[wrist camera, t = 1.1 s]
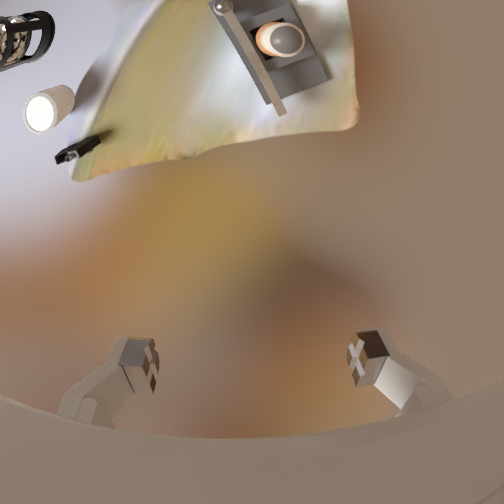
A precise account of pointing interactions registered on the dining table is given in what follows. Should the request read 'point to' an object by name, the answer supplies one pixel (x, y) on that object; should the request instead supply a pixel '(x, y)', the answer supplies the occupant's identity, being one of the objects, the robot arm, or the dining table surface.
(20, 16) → the french press
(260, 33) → the plug
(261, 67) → the ball-tipped lever
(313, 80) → the socket block
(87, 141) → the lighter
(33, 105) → the white cup
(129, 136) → the dining table surface
